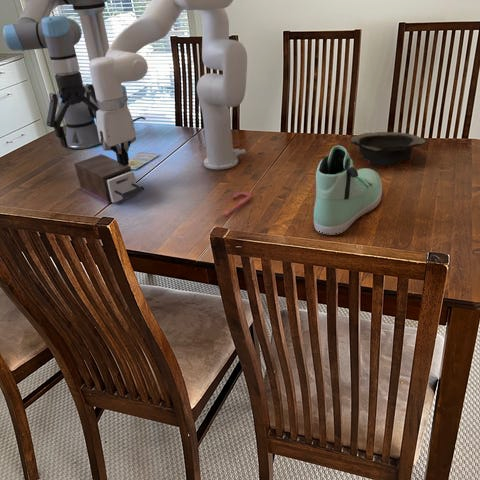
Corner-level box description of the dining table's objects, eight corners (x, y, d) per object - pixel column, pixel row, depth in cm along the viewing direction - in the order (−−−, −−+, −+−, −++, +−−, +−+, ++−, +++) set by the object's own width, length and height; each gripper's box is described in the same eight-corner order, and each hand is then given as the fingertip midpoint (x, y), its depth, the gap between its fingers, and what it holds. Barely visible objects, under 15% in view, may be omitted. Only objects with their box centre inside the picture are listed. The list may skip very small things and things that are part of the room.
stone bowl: (383, 178, 153) (383, 150, 149) (335, 160, 174) (334, 135, 169) (439, 159, 162) (442, 132, 158) (387, 144, 182) (388, 120, 178)
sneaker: (389, 187, 148) (396, 123, 138) (356, 242, 123) (361, 168, 112) (346, 181, 154) (350, 119, 144) (306, 232, 129) (307, 161, 118)
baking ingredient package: (116, 165, 178) (140, 152, 189) (116, 167, 178) (140, 153, 189) (135, 168, 174) (158, 154, 186) (135, 169, 174) (158, 155, 186)
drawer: (148, 197, 152) (144, 176, 148) (124, 208, 147) (119, 186, 143) (110, 179, 167) (106, 159, 163) (87, 188, 162) (81, 168, 158)
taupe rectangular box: (135, 192, 158) (130, 166, 154) (108, 204, 153) (102, 177, 148) (107, 179, 170) (101, 154, 165) (80, 189, 164) (74, 163, 159)
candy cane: (211, 213, 142) (210, 209, 141) (240, 193, 152) (239, 189, 151) (227, 218, 139) (226, 213, 138) (255, 197, 149) (255, 193, 148)
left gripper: (96, 63, 154) (110, 127, 165) (22, 80, 139) (42, 149, 150) (109, 65, 149) (122, 131, 160) (33, 83, 135) (53, 154, 146)
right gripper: (126, 95, 142) (137, 154, 152) (81, 108, 134) (96, 169, 143) (140, 99, 138) (151, 159, 147) (94, 112, 129) (109, 175, 139)
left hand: (84, 140), depth 155 cm, fingers open, 13 cm apart
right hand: (124, 164), depth 145 cm, fingers closed
